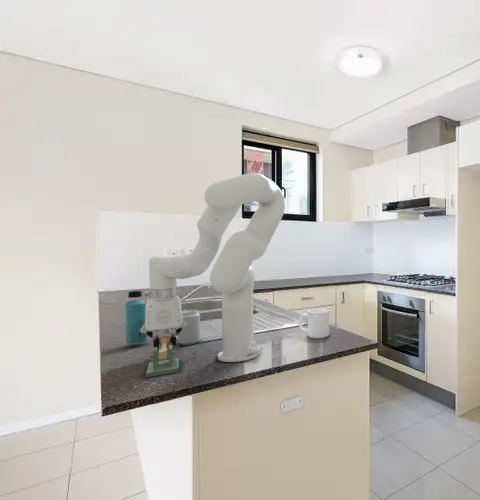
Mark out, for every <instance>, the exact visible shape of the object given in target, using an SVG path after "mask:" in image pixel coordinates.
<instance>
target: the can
mask: <svg viewBox="0 0 480 500" xmlns="http://www.w3.org/2000/svg"><path fill="white" fill-rule="evenodd" d="M182 317H183V319H184V320H185V321H186V322H187V324H188V327H187V328H185V329H183V330H182V331H181V332H180V333H179V334H178V335H177V343H179V344H180V345H181V346H190V345H191V346H192V345H194V344H198V343H199V341H200V340H201V314H200V313H199V310H198V309H185V310H182ZM181 326H182V325H181ZM181 326H180V327H181ZM178 328H179V327H178ZM178 328H177V329H178Z"/></svg>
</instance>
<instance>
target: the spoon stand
mask: <svg viewBox="0 0 480 500" xmlns="http://www.w3.org/2000/svg"><path fill="white" fill-rule="evenodd" d="M175 350H176V349H173V345H171V344H169V345H168V359H162V360H159V356H158V352H159V351H158V347H154V346H153V348H152V352H150V358H151V359H152V361H149V362H148V365H147V368H146V372H145V378H150V377H158V376H162V375H163V376H164V375H169V374H175V373H180V372H179V371H180V358H178V357H177V358H174V356H175V355H176V351H175Z"/></svg>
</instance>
